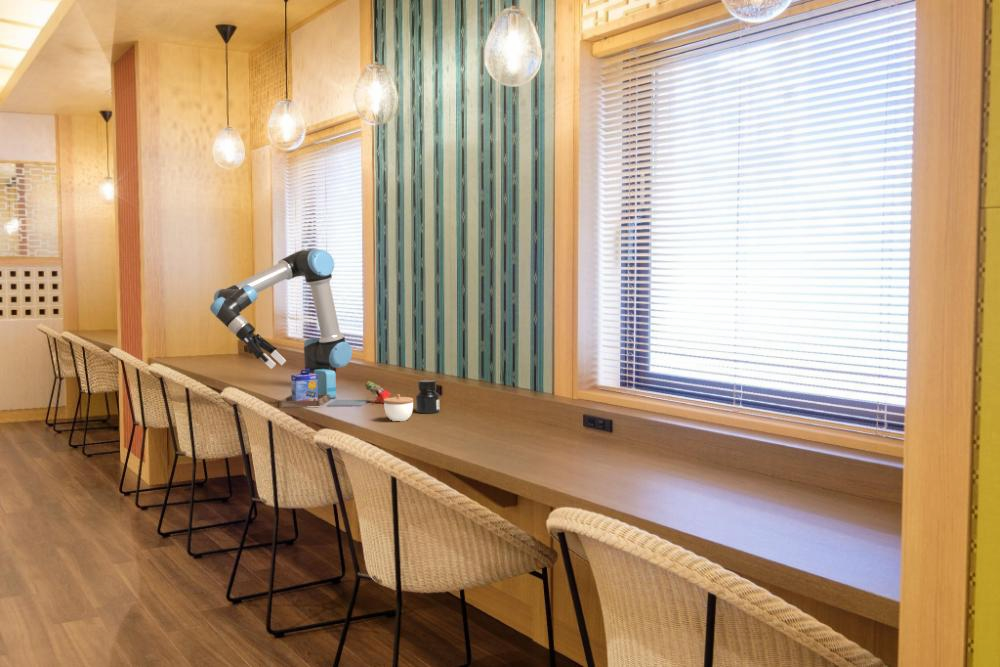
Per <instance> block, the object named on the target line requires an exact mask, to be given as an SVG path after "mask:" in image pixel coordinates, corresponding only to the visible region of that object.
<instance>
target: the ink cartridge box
mask: <svg viewBox="0 0 1000 667" xmlns="http://www.w3.org/2000/svg"><path fill="white" fill-rule="evenodd" d="M305 371H308V372H305ZM309 371H310V369H305V368H304V369H301V371H300V373H299V374H298V373H297V374H290V378H291V379H290V382H291V383H290V385H291V386H290V387H291V395H292V401H317V400H318V375H317V374H313V373H310V374H309Z"/></svg>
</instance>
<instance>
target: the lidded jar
mask: <svg viewBox="0 0 1000 667" xmlns="http://www.w3.org/2000/svg"><path fill="white" fill-rule="evenodd" d="M383 408H384V413H385V415H386V417H387V418H389V419H388V420H390V421H391V420H392V421H391V422H395V421H400V422H406V420H407V421H408V419H409V418H410V417H411V415H412V413H413V411H414V398H413V397H408V396H401V394H400V393H399V394H396V396H394V397H389V398H386V399H384V403H383Z"/></svg>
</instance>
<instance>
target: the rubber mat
mask: <svg viewBox="0 0 1000 667" xmlns="http://www.w3.org/2000/svg"><path fill="white" fill-rule="evenodd" d="M369 401H370V400H369V399H335V400H334V399H333V401H331V402H330V403H328V404H326V406H327V407H362V405H363V406H364V405H365V404H367V403H368V402H369ZM366 402H367V403H366Z"/></svg>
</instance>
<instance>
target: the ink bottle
mask: <svg viewBox="0 0 1000 667" xmlns="http://www.w3.org/2000/svg"><path fill="white" fill-rule="evenodd" d="M417 387H418V393H417V394H416V395H415V403H416V404H415V405H416V406H415V411H416V413H418V414H436V413H439V412H440V407H441V406H440V394H439V393H438V392H437V380H435V379H422V380H418V386H417Z"/></svg>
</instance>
